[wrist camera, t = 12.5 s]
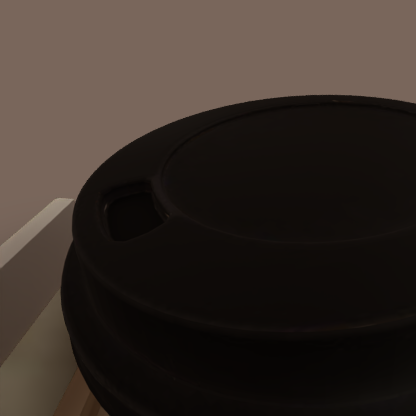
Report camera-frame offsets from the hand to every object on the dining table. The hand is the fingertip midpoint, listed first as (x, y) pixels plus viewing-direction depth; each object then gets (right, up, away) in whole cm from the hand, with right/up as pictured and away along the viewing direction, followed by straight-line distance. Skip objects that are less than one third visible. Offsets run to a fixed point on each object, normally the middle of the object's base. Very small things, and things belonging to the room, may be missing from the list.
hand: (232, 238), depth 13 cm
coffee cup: (+3, -10, +1) cm, 11 cm away
